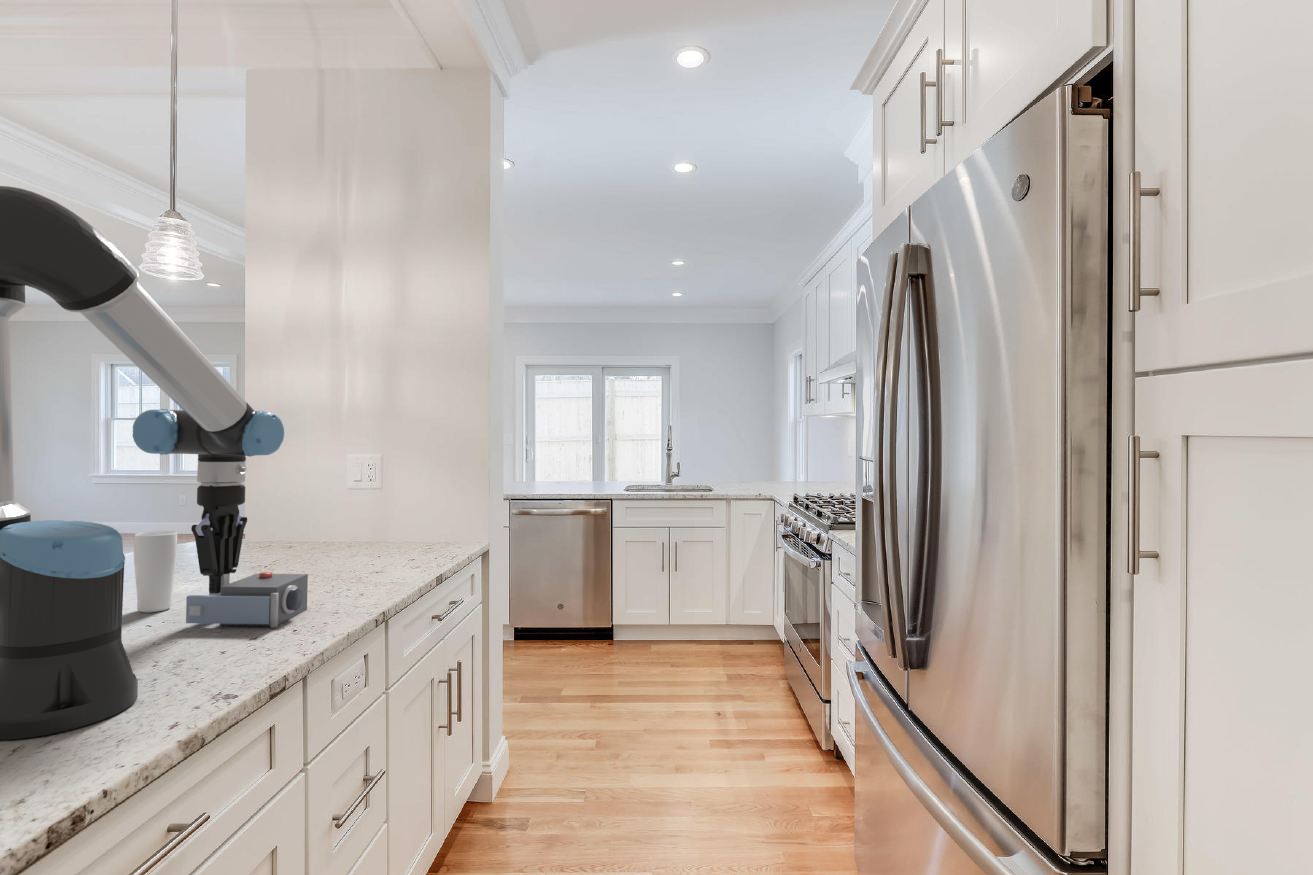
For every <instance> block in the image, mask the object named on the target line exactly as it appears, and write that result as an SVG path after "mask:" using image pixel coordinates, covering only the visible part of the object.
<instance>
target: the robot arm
mask: <svg viewBox="0 0 1313 875" xmlns="http://www.w3.org/2000/svg"><path fill="white" fill-rule="evenodd" d="M138 280H139V271H138V269H137V268H136V267H135V266H134V265H133V264H132V262H131V261H130V260H129V259H128V258H127V257H126V256H125V255H124V254H123V253H122V251H121V250H119V249H118V248H117V246H115V244H114V243H112V242H111V241H110V240H109V239H108V238H107V237H106V236H105V235H104V234H102V232H100V231H99V230H98V229H96V228H95V227H94V226H93V225H91V224H90V223H89V222H88V221H86V220H85V219H83V218H82V217H80V216H79V215H78V214H76V213H75V212H74V211H72V210H70V209H68V208H67V207H65V206H63V205H62V204H60V203H59V202H57V201H55V200H53V199H51V198H49V197H46V196H44V195H42V194H39V193H36V192H35V191H32V190H27V189H24V188H20V187H15V186H10V185H9V186H8V185H0V740H2V741H3V740H4V741H5V740H17V739H28V738H34V737H41V736H47V735H52V734H53V735H54V734H57V733H62V732H65V731H70V730H75V729H77V728H82V727H84V726H88V725H92V724H95V723H98V722H100V721H103V720H106V719H107V718H110V717H113V716H115V715H117V714H119V713H121V712H124V711H125V710H126V709H128V708H129V707H131V706H132V705H134V703H135V702H136V701H137V699H138V693H139V692H138V690H139V689H138V688H139V686H138V684H139V683H138V682H139V681H138V677H137V676H136V674H135V673H134V671H133V668H132V665H131V662H130V660H129V657H128V655H127V652H126V650H125V646H124V644H123V640H122V630H123V629H122V626H123V625H122V623H123V603H124V582H125V581H124V580H125V562H126V557H125V554H124V545H123V537H122V535H121V533H120V532H119V531H118V530H117V529H115V528H114V527H112V526H109V525H106V524H102V523H98V522H91V521H84V520H83V521H82V520H70V521H69V520H60V519H53V520H52V519H51V520H47V519H46V520H31V515H32V514H31V513H32V512H31V510H29V509H28V508H26V507H25V506H23V505H21V504H20V503H19V502H17V501H16V499H15V488H14V487H15V486H14V485H15V484H14V483H15V482H14V481H15V480H14V477H15V476H14V456H13V455H14V450H13V448H14V446H13V445H14V444H13V411H12V408H13V405H12V376H11V375H12V374H11V339H10V338H11V337H10V335H11V333H10V332H11V331H10V319H11V318H12V316H14V314H16V313H17V312H19V311H21V310H22V309H25V307H26V286H27V287H29V288H33V289H34V290H35V289H36V290H38V291H39V292H41V293H43V294H45V295H47V296H49V298H52V299H53V301H55V302H56V303H57V304H58V306H60V307H61V308H62V309H63V310H65V311H67V312H70V313H80V314H81V315H82V316H83V317H84V318H85V319H87V321H88V322H90V323H91V325H92V326H94V327H95V328H96V329H97V330H98V331H99V332H100V333H101V334H102V335H103V336H104V337H106V338H107V339H108V340H109V341H110V342H111V343H112V344H113V345H114V346H115V347H116V348H117V349H118V350H119V351H120V352H121V353H122V354H123V355H125V356H126V357H127V358H128V359H129V360H130V361H131V362H132V363H133V364H134V365H135V366H136V367H137V368H138V369H139V370H141V371H142V372H143V373H144V375H145V376H147V377H148V378H149V379H150V380H151V381H152V382H153V383H154V384H155V385H156V386H157V387H158V388H159V389H160V390H161V391H163V392H164V393H165V394H166V395H167V396H168V397H169V399H171V400H172V401H173V402H174V403H175V404H177V406H178V407H179V408H181V410H180V409H168V408H161V409H148V410H145V411H143V412H142V413H140V414H139V415H138V416H137V417H136V418H135V420H134V422H133V424H132V439H133V441H134V443H135V445H136V446H137V448H139V449H140V450H141V451H143V453H147V454H153V455H154V454H155V455H157V454H159V455H161V456H162V455H164V456H165V455H166V456H167V455H170V454H171V455H174V454H175V455H178V454H179V455H183V454H184V455H197V473H196V482H197V483H199V484H200V485H198V487H197V488H196V489H197V490H196V504H197V505H198V506H201V507H202V508H203V511H202V513H201V521H200V522H199V523H198V524H193V525H192V526H191V528H190V529H191V532H192V534H193V536H194V540H195V546H196V552H197V553H196V554H197V559H198V567H199V573H200V575H202V576H205V577H206V576H207V577H208V578H209V579H208V581H209V582H208V592H209V593H208V596H221V586H224V585H227V584H230V574H235V573H236V572H237V568H238V566H239V562H240V556H241V551H242V544H243V537H244V531H245V528H246V524H247V523H248V517H246V516H241V515H240V509H239V505H243V504H245V502H246V485H244V484H242V483H244V482H245V481H246V471H247V467H246V459H247V458H246V457H254V456H270V455H272V454H274V453H275V452H278V450H279V449H280V447H281V446H282V443H283V441H284V439H285V427H284V424H283V422H282V419H281V418H280V417H279V416H278V415H277V414H275V413H273V412H268V411H264V410H258V411H256V410H255V409H254V408H253V407H252V406H251V405H250V404H249V403H248V402H247V401H246V400H245V399H244V397H243V396H242V395H241V394H240V393H239V392H238V391H237V390H236V389H235V388H234V386H233V385H232V384H231V383H230V382H229V381H228V380H227V378H226V377H225V376H223V375H222V373H221V372H220V371H219V370H218V369H217V368H216V367H215V365H213V364H212V362H211V361H210V360H209V359H208V358H207V357H206V356H205V354H203V352H202V351H201V350H200V349H199V348H198V347H197V346H196V345H195V343H194V342H193V341H192V340H191V339H190V338H189V337H188V336H187V335H186V333H185V332H183V330H182V329H181V328H180V327H179V326H178V324H176V323H175V322H174V321H173V320H172V318H171V317H170V316H169V315H168V314H167V313H166V311H164V309H162V307H161V306H160V305H159V304H158V303H157V302H156V301H155V299H153V297H151V296H150V294H149V293H148V292H147V291H146V289H144V288H143V287H142V285H141V284H140V283H139V282H138ZM235 568H236V569H235Z"/></svg>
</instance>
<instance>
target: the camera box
mask: <svg viewBox="0 0 1313 875" xmlns="http://www.w3.org/2000/svg"><path fill="white" fill-rule="evenodd" d="M308 575H309V574H308V573H307V574H306V573H273V571H263V572H259V573H255V574H251V575H249V576H246V577H244V578H241V579H238V580H236V581H233V582H231V583H230V582H229V584H227V585H224V586H221V596H271V593H278V626H279V625H280V624H282V623H284V622H286V621H288V620H289V619H292V618H294V617H295V616H297V615H299V614H301V613H302V612H305V611H307V610H308V587H309V586H308V584H309V583H308V580H309V579H308V578H309V577H308ZM219 626H258V627H259V626H261V627H262V626H264V627H266V626H268V627H270V624H219Z"/></svg>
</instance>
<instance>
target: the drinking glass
mask: <svg viewBox="0 0 1313 875" xmlns="http://www.w3.org/2000/svg"><path fill="white" fill-rule="evenodd" d="M133 537H134V538H133V567H134V576H135V577H134V579H135V586H136V587H135V588H136V599H137V600H136V602H137V603H136V606H137V607H136V608H137V612H140V613H145V614H146V613H147V614H148V613H149V614H150V613H159V612H163V611H166V610H168V609H171V607H172V605H173V604H172V603H173V591H174V583H175V574H176V567H177V558H178V549H179V548H178V546H179V545H178V532H177V531H175V530H155V531H153V530H152V531H144V532H143V531H142V532H138V533H135V534H134V535H133Z"/></svg>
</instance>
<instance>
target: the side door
mask: <svg viewBox="0 0 1313 875" xmlns="http://www.w3.org/2000/svg"><path fill="white" fill-rule="evenodd" d="M185 599H186V603H185V604H186V605H185V624H213V625H214V624H219V625H220V624H270V626H269V628H270V629H275V628H278V627H279V625H278V593H271V596H209V595H206V594H205V595H197V594H196V595H191V594H190V595H187V596H186V598H185Z"/></svg>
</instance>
